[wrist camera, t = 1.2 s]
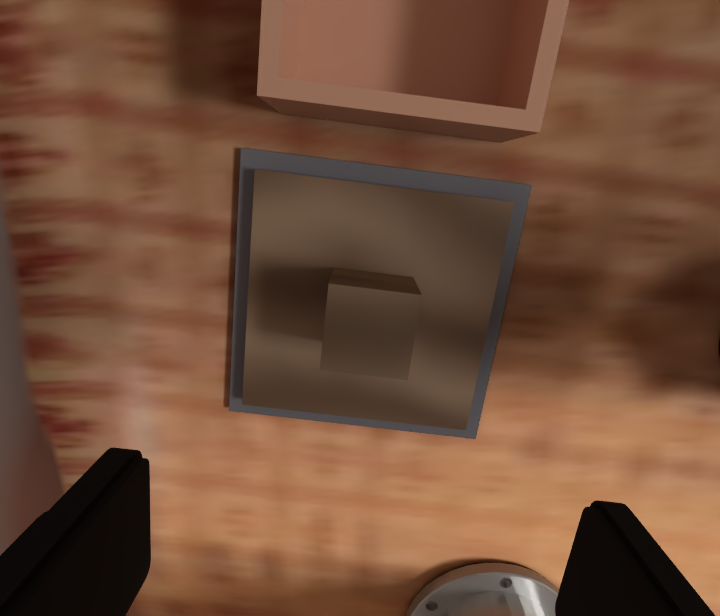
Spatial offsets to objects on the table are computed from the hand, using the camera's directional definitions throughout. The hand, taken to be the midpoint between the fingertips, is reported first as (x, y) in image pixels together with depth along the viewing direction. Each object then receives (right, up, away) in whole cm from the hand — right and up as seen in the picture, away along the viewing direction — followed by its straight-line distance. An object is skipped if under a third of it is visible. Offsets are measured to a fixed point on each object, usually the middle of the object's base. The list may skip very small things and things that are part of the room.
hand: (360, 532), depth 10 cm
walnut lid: (0, +5, +17) cm, 18 cm away
